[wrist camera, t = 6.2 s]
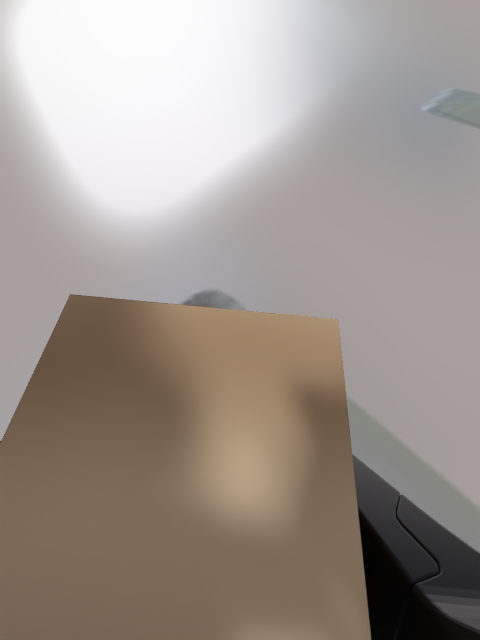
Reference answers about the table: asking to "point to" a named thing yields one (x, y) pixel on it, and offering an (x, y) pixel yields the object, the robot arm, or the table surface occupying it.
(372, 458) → the table surface
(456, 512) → the table surface
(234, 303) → the table surface
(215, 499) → the oak block
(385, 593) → the robot arm
